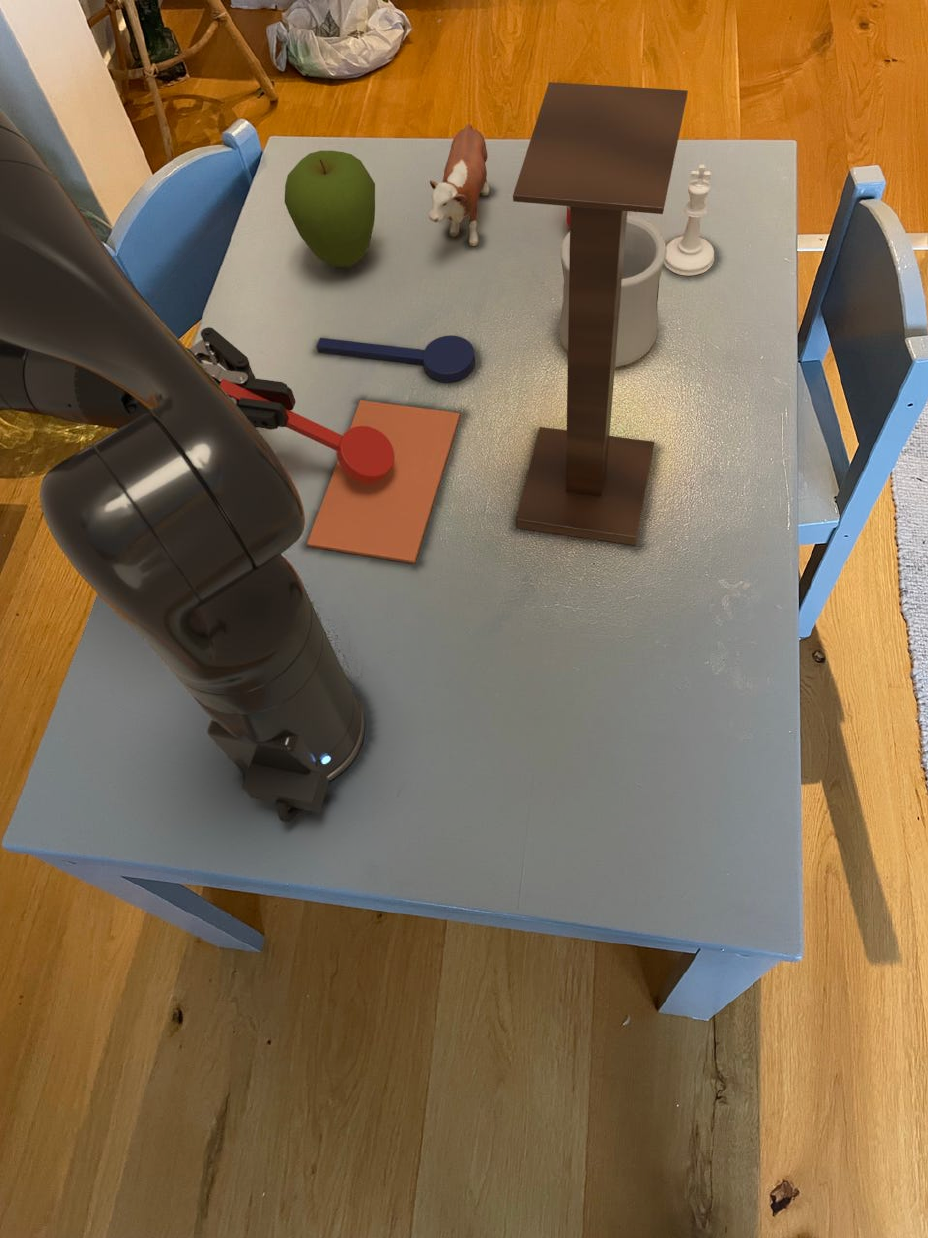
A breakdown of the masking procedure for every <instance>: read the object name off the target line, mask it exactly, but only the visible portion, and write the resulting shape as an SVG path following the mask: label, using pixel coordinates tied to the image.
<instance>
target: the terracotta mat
mask: <svg viewBox="0 0 928 1238" xmlns="http://www.w3.org/2000/svg"><path fill="white" fill-rule="evenodd" d="M460 418H461V413H460V412H453V411H447V410H439V409H433V408H432V409H431V408H423V407H415V406H408V405H400V404H394V403H393V404H392V403H384V402H377V401H371V400H364V399H363V400H362V399H360V400H359V403H358V406H357V409H356V411H355V414H354V416H353V419H352V422H351V424H350V426H349V429H351V428H353V427H357V426H368V427H372V428H374V429H376V430H378V431H380V432H381V433H382V434H384V435H385V436H386V437H387V439H388V440H389V441H390V443H391V445H392V447H393V450H394V462H393V465H392V467H391V469H390V470H389V471H388V473H387V474H386V475H385V476H384V477H383V478H382V479H380V480H378V481H375V482H361V481H358V480H356V479H354V478H352V477H351V476H349V475H348V474H347V473H346V472H345V471H344V470H343V469H342V467H341V466H340V464H339V462H338V461H337V462H336V464H335V467H334V470H333V473H332V475H331V478H330V481H329V482H328V483H329V484H328V486H327V489H326V491H325V493H324V497H323V499H322V502H321V505H320V507H319V510H318V513H317V516H316V518H315V520H314V523H313V526H312V529H311V533H310V535H309V537H308V539H307V542H306V545H307V547H310V548H316V549H322V550H328V551H335V552H339V553H340V552H341V553H347V554H353V555H359V556H364V557H365V556H366V557H371V558H379V559H383V560H389V561H395V562H401V563H402V562H403V563H408V564H416V563H417V559H418V556H419V553H420V549H421V546H422V543H423V539H424V535H425V532H426V529H427V525H428V524H429V520H430V517H431V513H432V509H433V508H434V507H433V506H434V503H435V499H436V497H437V493H438V490H439V488H440V483H441V482H442V481H441V480H442V477H443V474H444V471H445V467H446V464H447V461H448V457H449V454H450V451H451V448H452V444H453V441H454V438H455V435H456V431H457V428H458V424H459V422H460Z"/></svg>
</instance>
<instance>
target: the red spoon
mask: <svg viewBox="0 0 928 1238" xmlns="http://www.w3.org/2000/svg"><path fill="white" fill-rule="evenodd" d="M220 387H221V388H222V389H223V390H224V391H225V392H226V393H227V395H228V396H229V397H232V398H235V399H236V401H237V402H239V400H240V398H247V399H255V400H262V401H269V400H267V399H264V398H262V397H260V396H258V395H256V394H254V393H252V392H250V391H248V390H246V389H244V388H242V387H240V386H238V385H235V384H233V383H231V382H229V381H227V380H225V379H222V381H221V383H220ZM269 402H271V401H269ZM286 412H287V414H288V417H289V420H288V422H287V425H286V426H285V427H284V428H287V429H290V431H293V432H296V433H298V434H300V435H302V436H304V437H306V438H309V439H311V440H312V441H315V442H317V443H319V444H322V445H323V446H326V447H328V448H330V449H332V450H334V451H336V458H337V462H339V464H340V466H341V467H342V469H343V470H344V471H345V472H346V473H347V474H348V475H349V476H351V477H352V478H354V479H356V480H358V481H361V482H375V481H378V480H380V479H382V478H383V477H384V476H385V475H386V474H387V473H388V471H389V470H390V469H391V467H392V465H393V462H394V450H393V447H392V445H391V443H390V441H389V440H388V439H387V437H386V436H385V435H384V434H382V433H381V432H380V431H378V430H376V429H374V428H372V427H368V426H357V427H353V428H351V429H350V428H349V429H348V430H346V431H345V433H344V434H340V433H338V432H336V431H334V430H332V429H330V428H327V427H325V426H324V425H321V424H319V423H317V422H315V421H313V420H311V419H309V418H307V417H305V416H303V415H301V414H298V413H296V412H294V411H293V410H288V409H286Z"/></svg>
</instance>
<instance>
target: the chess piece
mask: <svg viewBox="0 0 928 1238" xmlns="http://www.w3.org/2000/svg"><path fill="white" fill-rule="evenodd" d="M705 169H706V164H700V165H699V170H692V171H691V175H690V179H693V180H691V181H690V182H689V183H688V185H687V192H688V194H689V201H688V202H686V204H685V205H684V207H683V211H684V214H685V215H686V216H688V219H687V223H686V226H685V230H684V233H683V235H681V236H678V237H676V238H674V239H672V240H671V241H669V243H666V250H667V253H666V257H665V261H664V266H665V267H666V268H667V270H669V271H670V272H671V273H674V274H677V275H680V276H686V277H687V276H689V277H690V276H697V275H700V274H703V273H705V272H707V271H708V270H709V269H711V267H712V266H713V264H714V262H715V249H714V247H713V246H712V244H711V243H710V242H709V241H708V240H706V239H704V238H703V237H700V235H701V234H700V233H701V231H700V230H701V228H700V227H701V218H702V217H705V216H706V215H707V213H708V205H707V204H706V203H705V200H706V198H707V196H708V195H709V193H710V191H711V183H710V182H709V181H707V180H711V176H712V171H707V170H706V171H705Z"/></svg>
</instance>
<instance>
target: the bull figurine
mask: <svg viewBox="0 0 928 1238" xmlns="http://www.w3.org/2000/svg"><path fill="white" fill-rule="evenodd" d="M487 161H488V150H487V143H486V140H485V137H484V135H483V134H482V132H481V131H479V130H478V129H476V128H473V125H472V124H466V126H465V127H464V128H462V129H460V130H458V132H457V133H456V134H455V136H454V137H453V139H452V142H451V145H450V150H449V154H448V157H447V161H446V163H445V166H444V171H443V178H442V180H441V182H439V183H437V182H436V181H433V180H429V184H430V186H431V188H432V190H433V191H432V193H431V203H432V207H431V210H430V212H429V213H428V218H429V220H431V222H433V223H440V222H442V221H443V220H444V219H449V221H450V222H451V224H450V228H449V236H451V237H456V236H458V235H459V233H460V226H461V225H460V223H462V221H463V220H464V218H465V217H469V218H468V226H469V231H470V232H469V238H468V245H469V246H471V247H477V246H478V245H479V244H480V242H479V234H478V232H477V226H478V211H479V210H478V205H479V201H480V195H481V196H482V197H485V196H489V194H490V187H489V182H488V181H487V178H488V177H487V175H488V172H487V166H486V163H487Z"/></svg>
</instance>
